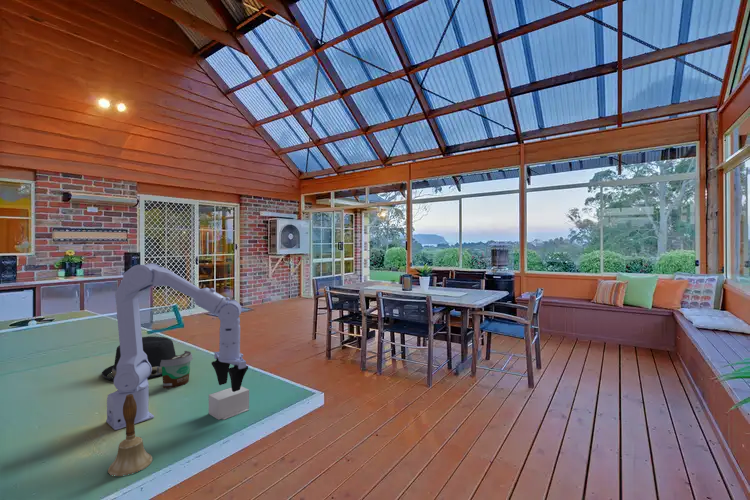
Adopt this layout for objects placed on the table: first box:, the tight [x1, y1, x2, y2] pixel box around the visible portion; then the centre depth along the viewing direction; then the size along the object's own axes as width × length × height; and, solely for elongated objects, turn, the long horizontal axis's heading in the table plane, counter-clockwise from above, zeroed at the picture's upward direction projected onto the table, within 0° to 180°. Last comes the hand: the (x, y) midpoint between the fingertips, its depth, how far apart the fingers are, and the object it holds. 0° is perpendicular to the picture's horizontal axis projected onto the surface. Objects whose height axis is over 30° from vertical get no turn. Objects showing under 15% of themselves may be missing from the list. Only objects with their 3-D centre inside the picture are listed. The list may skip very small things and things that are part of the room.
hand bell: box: [107, 394, 153, 477], centre depth 81 cm, size 8×8×16 cm
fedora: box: [101, 335, 180, 382], centre depth 142 cm, size 25×27×12 cm
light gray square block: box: [221, 408, 250, 421], centre depth 108 cm, size 8×8×1 cm
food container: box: [160, 350, 194, 389], centre depth 128 cm, size 12×6×10 cm, turn 168°
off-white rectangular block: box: [208, 385, 250, 421], centre depth 108 cm, size 10×6×6 cm, turn 141°
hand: (229, 387), depth 108 cm, fingers open, 7 cm apart
